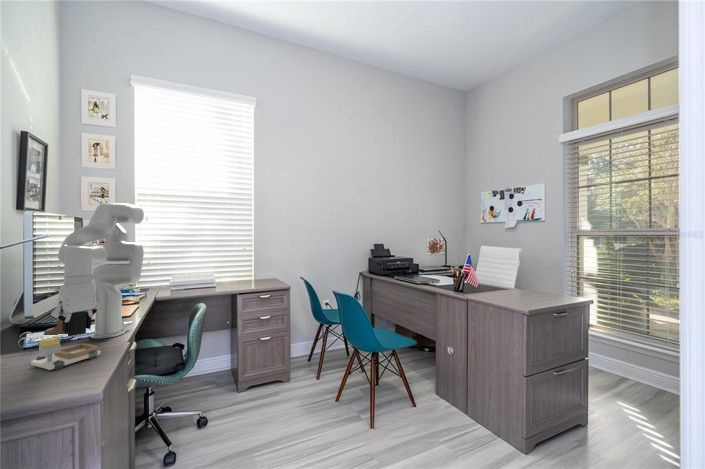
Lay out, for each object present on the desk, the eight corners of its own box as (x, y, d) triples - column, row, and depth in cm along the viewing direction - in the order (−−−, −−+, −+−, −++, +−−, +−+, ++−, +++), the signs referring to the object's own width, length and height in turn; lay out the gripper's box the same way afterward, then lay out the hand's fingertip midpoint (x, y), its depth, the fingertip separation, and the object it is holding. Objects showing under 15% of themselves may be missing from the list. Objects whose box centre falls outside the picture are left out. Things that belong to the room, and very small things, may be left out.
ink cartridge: (85, 332, 118) (86, 310, 118) (85, 333, 116) (86, 311, 116) (67, 334, 115) (68, 312, 115) (67, 336, 113) (68, 313, 113)
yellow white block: (54, 349, 111) (54, 336, 111) (63, 351, 109) (63, 338, 109) (36, 354, 107) (36, 340, 107) (44, 356, 105) (44, 342, 105)
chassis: (82, 352, 122) (82, 338, 122) (100, 356, 118) (100, 342, 118) (30, 367, 108) (31, 352, 108) (49, 372, 104) (50, 357, 104)
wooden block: (43, 342, 132) (44, 299, 132) (47, 339, 136) (48, 297, 136) (71, 339, 136) (72, 297, 136) (75, 336, 140) (75, 295, 140)
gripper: (97, 277, 125) (96, 323, 125) (41, 282, 109) (41, 336, 109) (110, 278, 122) (109, 325, 122) (54, 284, 106) (54, 338, 106)
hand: (77, 329), depth 115 cm, fingers closed on ink cartridge, 5 cm apart
